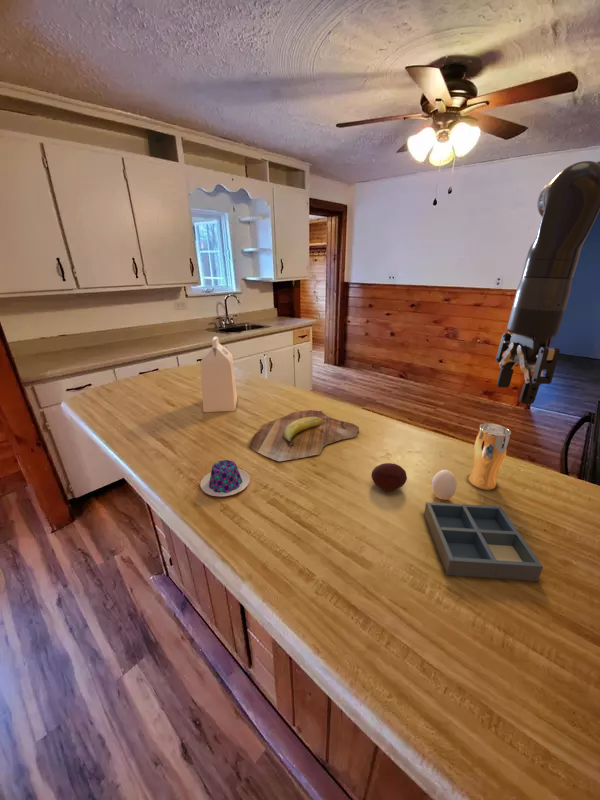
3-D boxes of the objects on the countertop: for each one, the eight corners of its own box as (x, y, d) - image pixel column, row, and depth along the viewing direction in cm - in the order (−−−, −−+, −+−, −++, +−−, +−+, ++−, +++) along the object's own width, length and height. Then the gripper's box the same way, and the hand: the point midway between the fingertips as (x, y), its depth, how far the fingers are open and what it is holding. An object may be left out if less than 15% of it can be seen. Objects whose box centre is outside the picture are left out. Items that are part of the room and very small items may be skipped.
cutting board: (308, 407, 129) (308, 397, 127) (368, 430, 111) (369, 419, 109) (232, 438, 105) (231, 427, 104) (293, 473, 88) (293, 460, 86)
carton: (496, 519, 72) (500, 506, 71) (538, 581, 58) (543, 566, 57) (423, 514, 73) (426, 502, 72) (446, 574, 59) (450, 560, 58)
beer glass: (503, 484, 84) (518, 431, 78) (488, 494, 80) (502, 439, 74) (476, 471, 89) (488, 420, 83) (461, 480, 85) (472, 427, 80)
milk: (208, 399, 135) (201, 335, 125) (237, 398, 136) (232, 334, 126) (203, 412, 124) (195, 342, 114) (235, 410, 125) (230, 341, 115)
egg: (458, 502, 77) (464, 475, 74) (439, 507, 76) (444, 479, 73) (443, 489, 82) (448, 463, 79) (424, 492, 80) (429, 466, 78)
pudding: (190, 491, 80) (187, 473, 78) (219, 466, 91) (217, 449, 89) (233, 504, 76) (231, 485, 74) (258, 475, 87) (257, 458, 85)
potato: (403, 500, 78) (407, 478, 76) (368, 492, 81) (370, 471, 78) (406, 482, 84) (409, 461, 82) (373, 475, 87) (375, 455, 85)
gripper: (591, 312, 50) (557, 410, 56) (536, 302, 63) (514, 383, 70) (539, 310, 51) (511, 408, 57) (496, 300, 64) (477, 381, 70)
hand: (513, 394), depth 63 cm, fingers open, 8 cm apart
